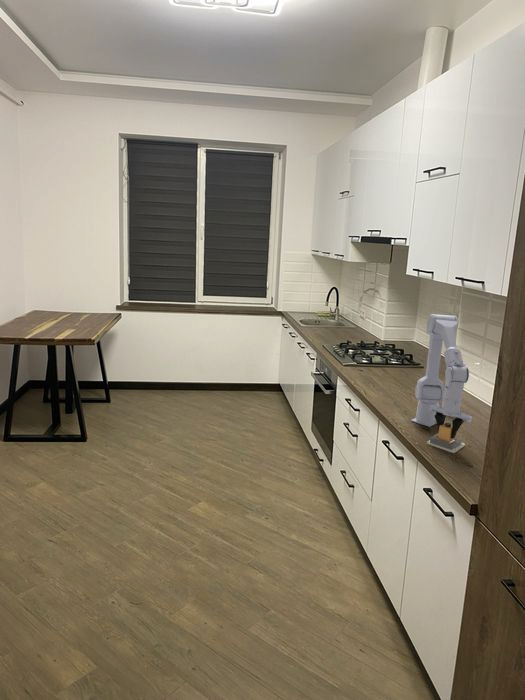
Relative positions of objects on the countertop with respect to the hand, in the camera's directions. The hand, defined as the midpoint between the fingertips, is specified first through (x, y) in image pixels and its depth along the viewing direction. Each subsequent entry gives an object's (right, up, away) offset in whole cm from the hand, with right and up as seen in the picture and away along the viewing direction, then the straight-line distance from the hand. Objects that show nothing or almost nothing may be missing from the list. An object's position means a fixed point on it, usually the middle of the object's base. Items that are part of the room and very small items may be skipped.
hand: (446, 435), depth 182 cm
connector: (+1, -1, +1) cm, 2 cm away
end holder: (0, -4, +2) cm, 4 cm away
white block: (+14, +3, +37) cm, 40 cm away
